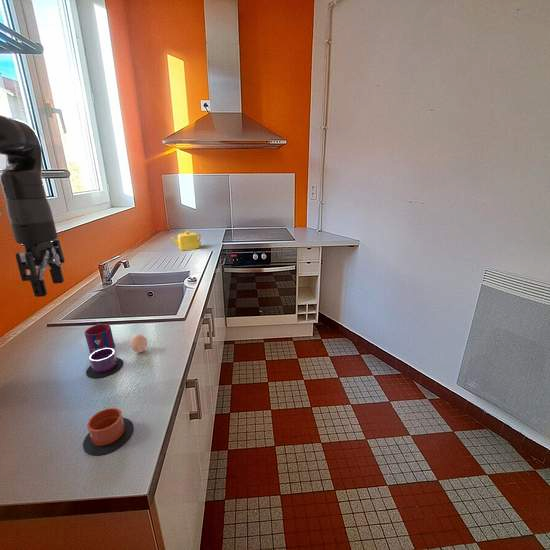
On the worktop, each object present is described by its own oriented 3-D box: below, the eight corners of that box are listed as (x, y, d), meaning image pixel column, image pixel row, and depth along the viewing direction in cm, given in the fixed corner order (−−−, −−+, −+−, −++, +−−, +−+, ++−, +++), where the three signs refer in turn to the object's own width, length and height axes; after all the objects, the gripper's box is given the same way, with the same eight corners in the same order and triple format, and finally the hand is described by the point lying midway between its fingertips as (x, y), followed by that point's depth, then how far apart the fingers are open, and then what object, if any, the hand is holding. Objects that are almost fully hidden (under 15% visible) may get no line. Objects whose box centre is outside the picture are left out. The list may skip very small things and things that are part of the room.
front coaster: (75, 460, 56) (75, 459, 56) (92, 422, 64) (92, 421, 64) (127, 450, 58) (127, 449, 57) (137, 415, 66) (137, 414, 66)
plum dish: (89, 375, 79) (85, 362, 78) (96, 361, 85) (93, 349, 83) (113, 371, 80) (110, 358, 79) (119, 358, 86) (117, 346, 84)
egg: (134, 357, 87) (130, 340, 85) (130, 350, 90) (127, 334, 88) (150, 352, 89) (147, 335, 87) (146, 345, 92) (143, 329, 91)
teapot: (174, 252, 202) (171, 234, 198) (171, 248, 212) (169, 231, 209) (203, 248, 210) (201, 231, 206) (200, 244, 220) (198, 228, 216)
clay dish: (87, 450, 57) (82, 434, 56) (97, 425, 63) (93, 410, 62) (121, 444, 59) (116, 428, 57) (128, 420, 64) (124, 405, 63)
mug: (87, 357, 87) (82, 337, 85) (93, 340, 96) (88, 321, 94) (113, 352, 90) (108, 332, 87) (117, 336, 98) (112, 317, 96)
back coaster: (80, 380, 77) (80, 379, 77) (93, 360, 86) (92, 359, 86) (118, 375, 79) (118, 374, 79) (126, 356, 88) (126, 355, 87)
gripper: (30, 215, 71) (47, 280, 76) (-10, 225, 58) (14, 302, 63) (65, 214, 73) (80, 278, 78) (34, 224, 59) (54, 299, 65)
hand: (50, 289), depth 70 cm, fingers open, 8 cm apart
